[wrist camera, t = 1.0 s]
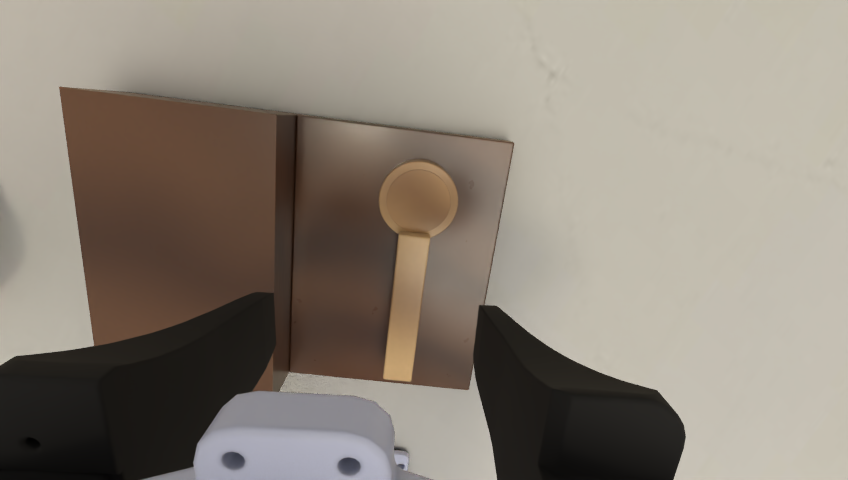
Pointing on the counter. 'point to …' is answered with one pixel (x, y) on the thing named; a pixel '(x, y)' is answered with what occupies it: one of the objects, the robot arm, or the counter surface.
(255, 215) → the step shelf
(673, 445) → the robot arm
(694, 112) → the counter surface
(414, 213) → the spoon
